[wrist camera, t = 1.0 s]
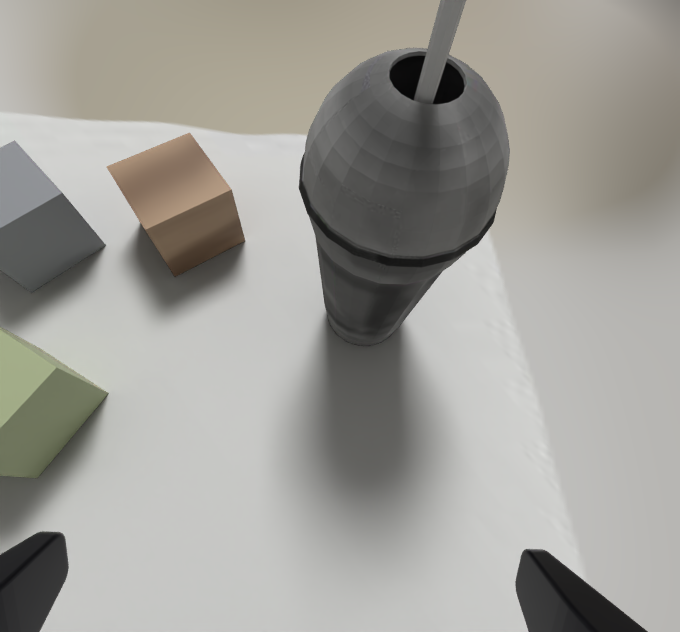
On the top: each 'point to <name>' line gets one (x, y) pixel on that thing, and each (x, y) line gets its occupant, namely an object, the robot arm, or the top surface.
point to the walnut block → (180, 202)
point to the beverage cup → (401, 179)
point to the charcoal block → (37, 223)
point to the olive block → (38, 406)
